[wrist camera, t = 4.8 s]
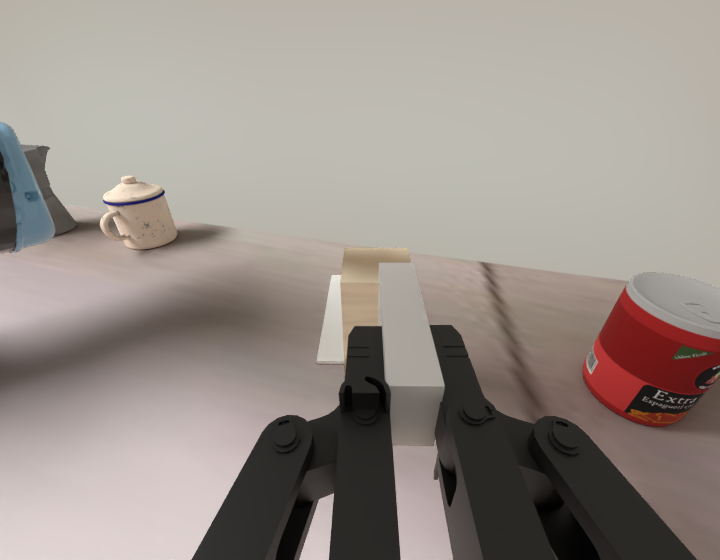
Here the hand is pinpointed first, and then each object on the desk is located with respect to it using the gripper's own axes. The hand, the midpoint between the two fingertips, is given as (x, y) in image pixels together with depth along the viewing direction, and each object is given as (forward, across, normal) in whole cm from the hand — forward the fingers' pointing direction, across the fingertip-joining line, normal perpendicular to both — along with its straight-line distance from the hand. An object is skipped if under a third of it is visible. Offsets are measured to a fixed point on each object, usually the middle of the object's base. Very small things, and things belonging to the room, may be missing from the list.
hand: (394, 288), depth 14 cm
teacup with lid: (+40, -42, -17) cm, 60 cm away
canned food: (+8, +24, -18) cm, 31 cm away
